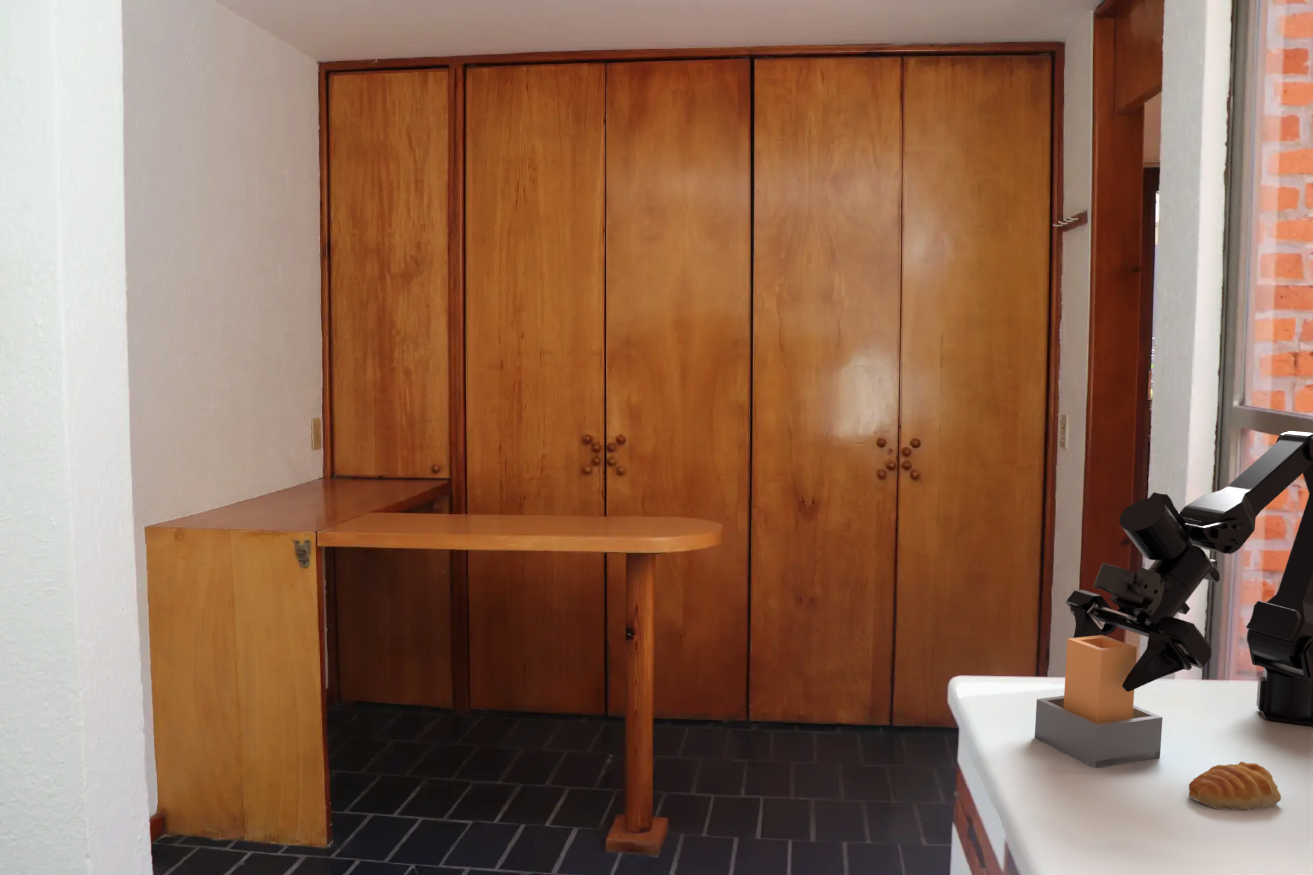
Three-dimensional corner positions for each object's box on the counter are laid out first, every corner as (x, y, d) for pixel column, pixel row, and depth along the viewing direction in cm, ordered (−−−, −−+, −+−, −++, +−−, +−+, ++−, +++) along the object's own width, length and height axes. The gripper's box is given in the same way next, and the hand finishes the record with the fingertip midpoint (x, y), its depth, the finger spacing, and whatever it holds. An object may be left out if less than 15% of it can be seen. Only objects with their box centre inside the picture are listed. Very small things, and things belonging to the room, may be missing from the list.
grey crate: (1096, 727, 137) (1098, 690, 136) (1159, 756, 127) (1162, 717, 127) (1034, 737, 133) (1036, 698, 132) (1095, 767, 123) (1097, 726, 123)
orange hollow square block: (1096, 730, 134) (1101, 634, 132) (1130, 746, 128) (1136, 646, 127) (1061, 735, 131) (1067, 638, 130) (1095, 751, 126) (1101, 651, 125)
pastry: (1221, 819, 111) (1223, 785, 110) (1170, 794, 117) (1172, 761, 117) (1285, 807, 114) (1288, 773, 114) (1232, 783, 120) (1234, 751, 120)
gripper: (1080, 529, 138) (1009, 617, 135) (1200, 556, 121) (1121, 658, 118) (1122, 583, 142) (1054, 670, 139) (1244, 617, 124) (1169, 718, 121)
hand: (1095, 677), depth 129 cm, fingers open, 9 cm apart
